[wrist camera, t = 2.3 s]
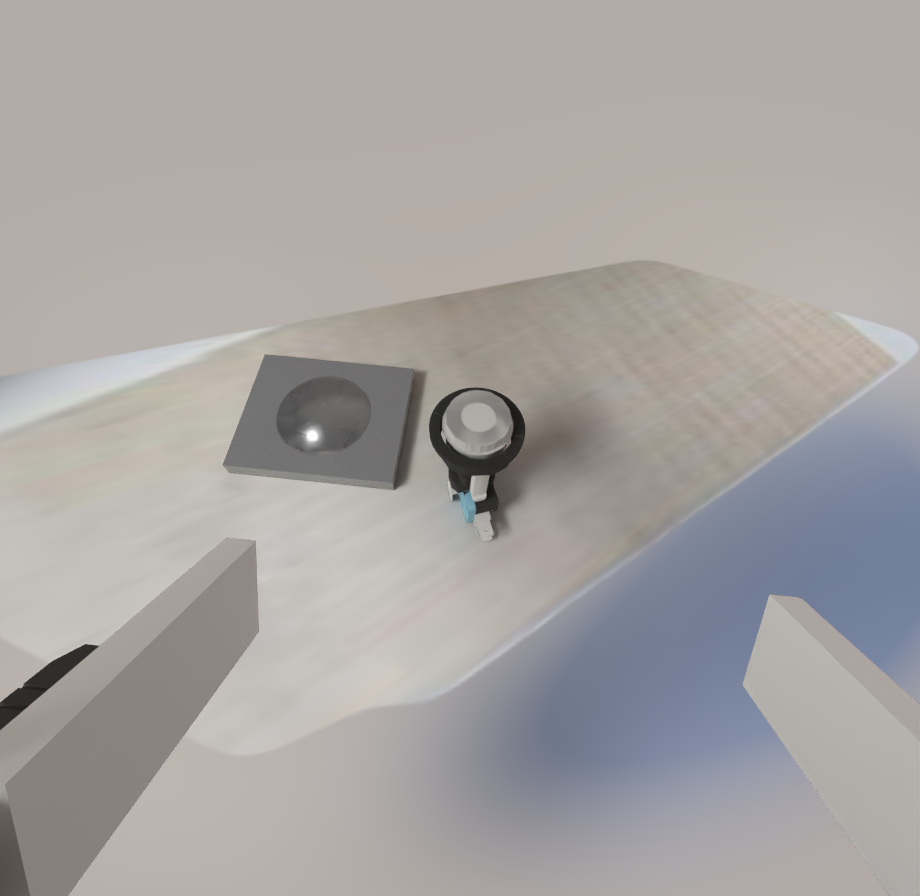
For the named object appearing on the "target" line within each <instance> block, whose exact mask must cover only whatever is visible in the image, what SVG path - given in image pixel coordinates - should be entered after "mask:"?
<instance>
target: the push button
mask: <svg viewBox="0 0 920 896" xmlns="http://www.w3.org/2000/svg"><path fill="white" fill-rule="evenodd" d="M442 430H443V433H444V435H445V437H446V444H445V442H444V441H443V439H442V436H441V431H442ZM429 432H430V439H431V442H432V445H433V447H434V449H435V451H436V452H437V453H438V455H439V456H440V457H441V458H442V459H443V461H444V462H445V463H446V465H447V466H448V468H449V480H448V492H449V496H450V499H451V502H453V495H454V494H458V495H459V499H460V502H461V505H462V509H463V512H464V515H465V519H466V522H467V523H468V522H472V521H473V523H474V526H475V528H478V532H479V535H480V538H481V541H482V542H485V541H489V540H492V536H493V534H494V533H493V529H492V526H491V523H490V520H491V512H492V511H496V510H497V508H498V498H497V495H496V493H495V490H494V486H493V482H494V477H495V474H496V473H497V472H499V471H501V470H502V469H504V468H506V467H507V466H508V464H509V463H510V462H511V461H512V460H513V459H514V458H515V457H516V456H517V454H518V453H519V451H520V449H521V447H522V445H523V441H524V438H525V423H524V419H523V417H522V414H521V412H520V411H519V409H518V408H517V406H516V405H515V404H514V403H513V402H512V401H511V400H510V399H508V398H507V397H505V396H504V395H502V394H500V393H498V392H496V391H493V390H490V389H485V388H466V389H461V390H458V391H456V392H453V393H451V394H449V395H448V396H446V397H445V398H444V399H442V400H441V401H440V402H439V403H438V405H437V406H436V407H435V409H434V411H433V413H432V415H431V418H430V424H429ZM510 438H511V444H510V445H509V447H508V448H507V449H506V450H505V447H506V443H507V442H508V441H509V440H510ZM484 531H487V532H484Z"/></svg>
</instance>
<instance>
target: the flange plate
mask: <svg viewBox="0 0 920 896" xmlns="http://www.w3.org/2000/svg"><path fill="white" fill-rule="evenodd" d="M413 382H414V370H413V369H406V368H396V367H386V366H376V365H366V364H356V363H346V362H336V361H326V360H316V359H306V358H296V357H286V356H276V355H266V354H265V356H264V358H263V361H262V364H261V366H260V369H259V371H258V374H257V377H256V379H255V382H254V385H253V387H252V390H251V392H250V395H249V398H248V400H247V403H246V405H245V408H244V411H243V413H242V416H241V419H240V421H239V424H238V426H237V429H236V432H235V434H234V437H233V439H232V442H231V445H230V447H229V450H228V453H227V455H226V458H225V460H224V463H223V466H224V467H225V468H226V469H227V470H228V472H229V473H238V474H248V475H257V476H267V477H276V478H286V479H295V480H305V481H314V482H324V483H333V484H343V485H352V486H362V487H371V488H381V489H390V490H394V487H395V482H396V476H397V471H398V465H399V460H400V454H401V449H402V443H403V438H404V432H405V427H406V421H407V416H408V410H409V405H410V399H411V394H412V388H413Z"/></svg>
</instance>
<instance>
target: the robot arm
mask: <svg viewBox="0 0 920 896" xmlns="http://www.w3.org/2000/svg"><path fill="white" fill-rule="evenodd" d="M258 632H259V621H258V592H257V563H256V541H254V540H244V539H235V538H226V539H225V540H223V541H222V542H221V543H220V544H219V545H218V546H216V547H215V548H214V549H213V550H212V551H210V552H209V553H208V554H207V555H206V556H205V557H203V558H202V559H201V560H200V561H199V562H198V563H196V564H195V565H194V566H193V567H192V568H190V569H189V570H188V571H187V572H186V573H185V574H183V575H182V576H181V577H180V578H179V579H178V580H176V581H175V582H174V583H173V584H172V585H171V586H169V587H168V588H167V589H166V590H165V591H163V592H162V593H161V594H160V595H159V596H158V597H156V598H155V599H154V600H153V601H152V602H151V603H149V604H148V605H147V606H146V607H145V608H143V609H142V610H141V611H140V612H139V613H138V614H136V615H135V616H134V617H133V618H132V619H131V620H129V621H128V622H127V623H126V624H125V625H124V626H122V627H121V628H120V629H119V630H118V631H116V632H115V633H114V634H113V635H112V636H111V637H109V638H108V639H107V640H106V641H105V642H104V643H102V644H101V645H100V646H96V645H87V644H85V645H83V646H81V647H79V648H77V649H75V650H73V651H71V652H69V653H67V654H66V655H64V656H62V657H60V658H58V659H56V660H54V661H52V662H51V663H49V664H48V665H47V666H46V667H44V668H43V669H42V670H41V671H39V672H38V673H37V674H35V675H34V676H33V677H32V678H30V679H29V680H28V681H27V682H25V683H24V686H23V687H22V688H18V689H17V690H15V691H14V692H13V693H12V694H10V695H9V696H8V697H7V698H5V699H4V700H3V701H2V702H0V896H68V895H69V893H70V892H71V891H72V889H73V888H74V887H75V885H76V884H77V883H78V881H79V880H80V878H81V877H82V876H83V874H84V873H85V872H86V870H87V869H88V867H89V866H90V864H91V863H92V862H93V860H94V859H95V858H96V856H97V855H98V853H99V852H100V851H101V849H102V848H103V847H104V845H105V844H106V842H107V841H108V840H109V838H110V837H111V836H112V834H113V833H114V831H115V830H116V829H117V827H118V826H119V824H120V823H121V822H122V820H123V819H124V817H125V816H126V815H127V813H128V812H129V811H130V809H131V808H132V806H133V805H134V804H135V802H136V801H137V800H138V798H139V797H140V795H141V794H142V793H143V791H144V790H145V788H146V787H147V786H148V784H149V783H150V782H151V780H152V779H153V777H154V776H155V775H156V773H157V772H158V770H159V769H160V768H161V766H162V765H163V763H164V762H165V761H166V759H167V758H168V757H169V755H170V754H171V752H172V751H173V750H174V748H175V747H176V746H177V744H178V743H179V741H180V740H181V739H182V737H183V736H184V735H185V733H186V732H187V730H188V729H189V728H190V726H191V725H192V723H193V722H194V721H195V719H196V718H197V717H198V715H199V714H200V712H201V711H202V710H203V708H204V707H205V705H206V704H207V703H208V701H209V700H210V699H211V697H212V696H213V694H214V693H215V692H216V690H217V689H218V687H219V686H220V685H221V683H222V682H223V681H224V679H225V678H226V676H227V675H228V674H229V672H230V671H231V669H232V668H233V667H234V665H235V664H236V663H237V661H238V660H239V658H240V657H241V656H242V654H243V653H244V651H245V650H246V649H247V647H248V646H249V645H250V643H251V642H252V640H253V639H254V638H255V636H256V635H257V633H258ZM742 685H743V686H744V688H745V689H746V691H747V692H748V694H749V695H750V697H751V698H752V699H753V701H754V702H755V704H756V705H757V707H758V708H759V709H760V711H761V712H762V714H763V715H764V717H765V718H766V720H767V721H768V722H769V724H770V725H771V727H772V728H773V730H774V731H775V733H776V734H777V735H778V737H779V738H780V740H781V741H782V742H783V744H784V745H785V747H786V748H787V750H788V751H789V753H790V754H791V755H792V757H793V758H794V760H795V761H796V763H797V764H798V766H799V767H800V769H801V770H802V771H803V773H804V774H805V776H806V777H807V779H808V780H809V781H810V783H811V784H812V786H813V787H814V788H815V790H816V792H817V793H818V794H819V796H820V797H821V799H822V800H823V802H824V803H825V804H826V806H827V807H828V809H829V810H830V812H831V813H832V815H833V816H834V817H835V819H836V820H837V822H838V823H839V825H840V826H841V828H842V829H843V830H844V832H845V833H846V835H847V836H848V838H849V839H850V840H851V842H852V843H853V845H854V846H855V848H856V849H857V851H858V852H859V853H860V855H861V856H862V858H863V859H864V861H865V862H866V863H867V865H868V866H869V868H870V869H871V870H872V872H873V873H874V875H875V876H876V878H877V879H878V881H879V882H880V884H881V885H882V887H883V888H884V889H885V891H886V892H887V894H888V895H889V896H920V704H919V703H918V702H917V701H915V700H914V699H913V698H912V697H911V696H910V695H909V694H908V693H906V692H905V691H904V690H903V689H902V688H901V687H900V686H899V685H898V684H896V683H895V682H894V681H893V680H892V679H891V678H890V677H889V676H887V675H886V674H885V673H884V672H883V671H882V670H881V669H880V668H878V667H877V666H876V665H875V664H874V663H873V662H872V661H871V660H869V659H868V658H867V657H866V656H865V655H864V654H863V653H862V652H861V651H859V650H858V649H857V648H856V647H855V646H854V645H853V644H852V643H851V642H849V641H848V640H847V639H846V638H845V637H844V636H843V635H842V634H840V633H839V632H838V631H837V630H836V629H835V628H834V627H833V626H832V625H830V624H829V623H828V622H827V621H826V620H825V619H824V618H823V617H822V616H820V615H819V614H818V613H817V612H816V611H815V610H814V609H813V608H812V607H810V606H809V605H808V604H807V603H806V602H805V601H803V600H802V599H801V598H799V597H789V596H780V595H769V598H768V601H767V605H766V608H765V611H764V615H763V618H762V622H761V625H760V628H759V632H758V635H757V638H756V641H755V645H754V648H753V651H752V655H751V658H750V661H749V664H748V668H747V671H746V675H745V678H744V681H743V684H742Z"/></svg>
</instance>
